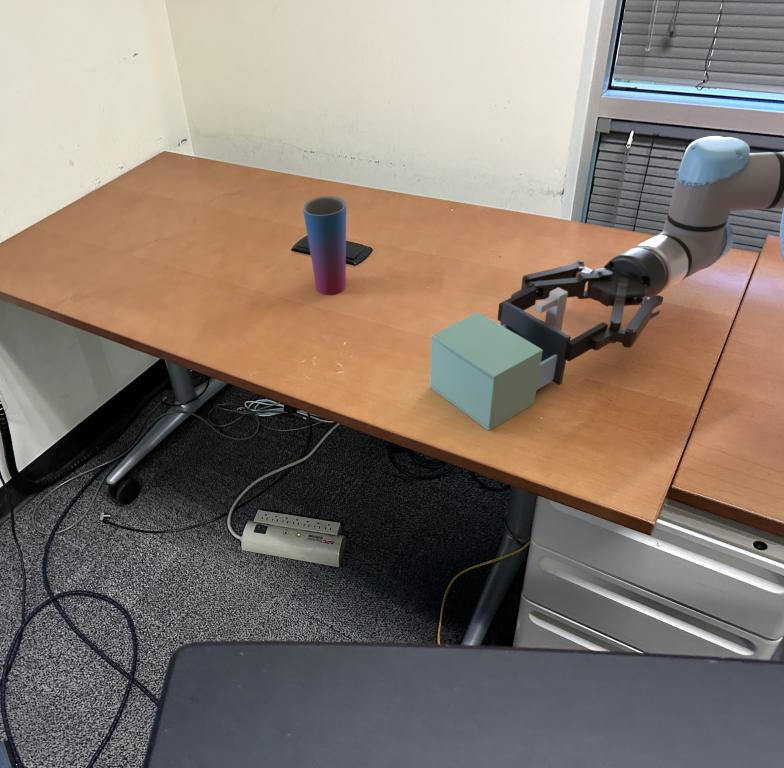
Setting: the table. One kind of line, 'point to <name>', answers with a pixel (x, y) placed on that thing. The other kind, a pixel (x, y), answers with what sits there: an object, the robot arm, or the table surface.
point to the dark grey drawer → (542, 333)
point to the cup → (327, 242)
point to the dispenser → (484, 369)
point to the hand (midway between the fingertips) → (532, 331)
